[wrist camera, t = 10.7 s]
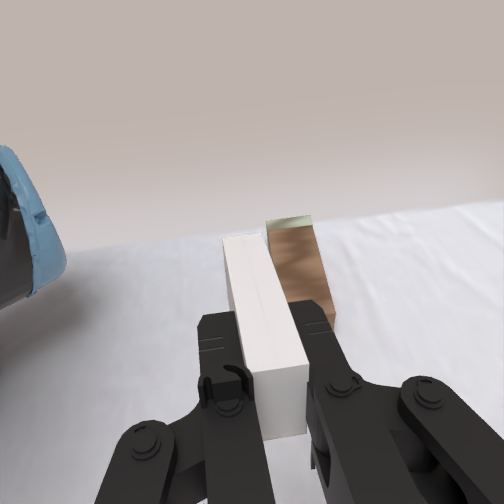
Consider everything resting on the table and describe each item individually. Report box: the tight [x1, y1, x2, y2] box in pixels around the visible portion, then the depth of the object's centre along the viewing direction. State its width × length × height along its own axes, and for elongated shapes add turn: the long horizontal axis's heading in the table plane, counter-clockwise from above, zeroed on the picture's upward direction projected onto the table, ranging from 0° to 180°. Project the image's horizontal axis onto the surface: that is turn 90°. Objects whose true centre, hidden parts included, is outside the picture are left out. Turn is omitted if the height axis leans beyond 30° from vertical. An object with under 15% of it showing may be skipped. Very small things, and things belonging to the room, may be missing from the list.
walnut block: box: [266, 215, 336, 331], centre depth 46 cm, size 5×5×13 cm
